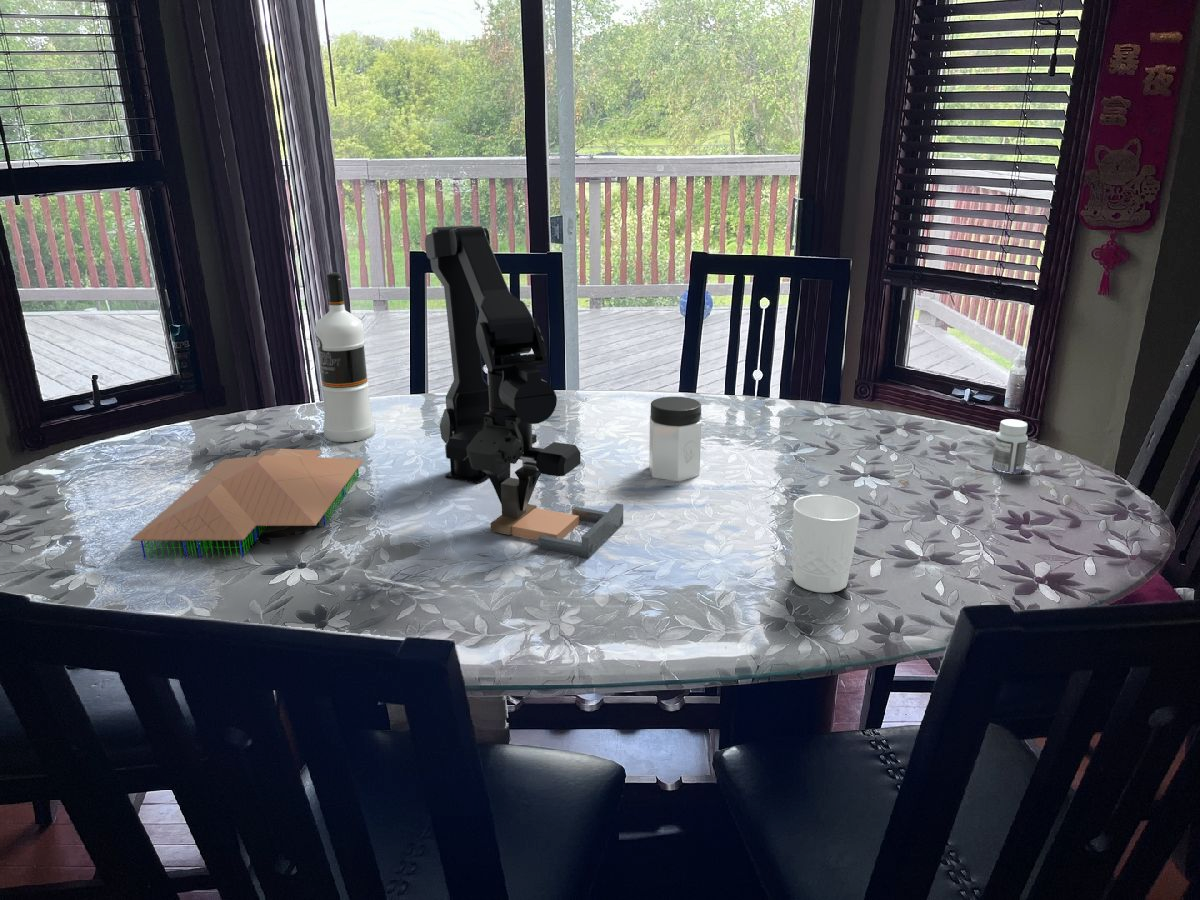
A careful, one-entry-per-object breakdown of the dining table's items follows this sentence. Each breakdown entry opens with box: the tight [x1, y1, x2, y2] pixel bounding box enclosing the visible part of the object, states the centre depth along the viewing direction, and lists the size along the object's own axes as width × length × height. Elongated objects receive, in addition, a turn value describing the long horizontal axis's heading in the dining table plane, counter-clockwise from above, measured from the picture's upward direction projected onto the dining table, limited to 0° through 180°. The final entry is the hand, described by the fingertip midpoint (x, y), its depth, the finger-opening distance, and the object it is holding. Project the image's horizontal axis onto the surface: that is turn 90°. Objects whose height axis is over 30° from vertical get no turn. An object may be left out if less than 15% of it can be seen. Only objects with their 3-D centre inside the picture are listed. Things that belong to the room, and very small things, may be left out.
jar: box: [648, 396, 702, 482], centre depth 144 cm, size 9×8×12 cm
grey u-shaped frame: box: [538, 503, 624, 560], centre depth 123 cm, size 8×12×3 cm, turn 156°
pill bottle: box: [991, 418, 1029, 472], centre depth 145 cm, size 5×5×8 cm
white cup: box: [791, 494, 861, 594], centre depth 109 cm, size 8×8×10 cm
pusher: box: [490, 476, 538, 536], centre depth 126 cm, size 3×8×6 cm, turn 156°
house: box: [130, 448, 365, 559], centre depth 132 cm, size 23×33×8 cm
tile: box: [511, 507, 580, 541], centre depth 125 cm, size 7×7×2 cm
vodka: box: [314, 271, 377, 443], centre depth 159 cm, size 9×9×30 cm
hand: (514, 508), depth 127 cm, fingers closed on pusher, 2 cm apart
